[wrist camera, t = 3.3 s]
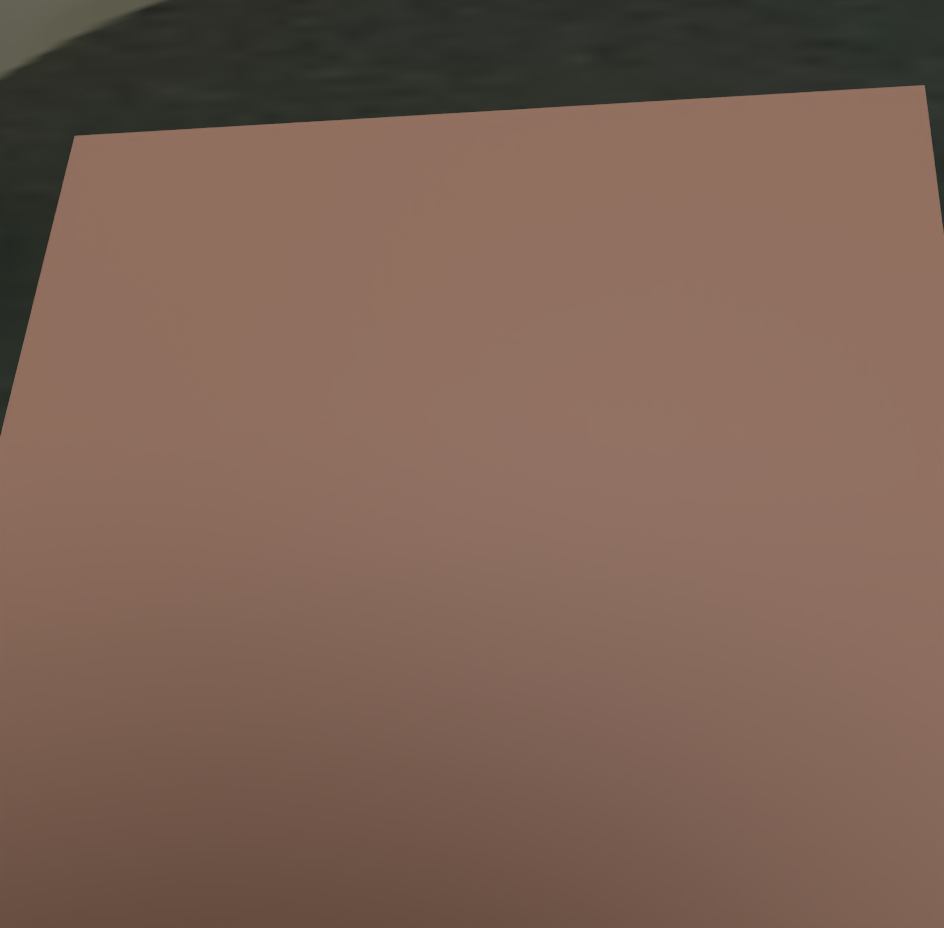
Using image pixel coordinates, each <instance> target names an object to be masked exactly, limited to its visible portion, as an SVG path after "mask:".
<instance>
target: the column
mask: <svg viewBox="0 0 944 928" xmlns="http://www.w3.org/2000/svg"><path fill="white" fill-rule="evenodd" d="M0 928H944V233H943V225H942V217H941V210H940V202H939V194H938V186H937V178H936V171H935V163H934V155H933V147H932V140H931V132H930V124H929V116H928V108H927V101H926V93H925V85H920V86H904V87H887V88H870V89H853V90H837V91H820V92H803V93H786V94H770V95H753V96H736V97H719V98H703V99H686V100H669V101H652V102H636V103H619V104H602V105H585V106H569V107H552V108H535V109H518V110H502V111H485V112H468V113H451V114H435V115H418V116H401V117H384V118H368V119H351V120H334V121H317V122H301V123H284V124H267V125H250V126H234V127H217V128H200V129H183V130H167V131H150V132H133V133H116V134H100V135H83V136H75V137H74V141H73V145H72V149H71V153H70V157H69V161H68V165H67V169H66V173H65V177H64V181H63V186H62V190H61V194H60V198H59V202H58V206H57V210H56V214H55V218H54V222H53V226H52V230H51V234H50V238H49V242H48V246H47V250H46V254H45V258H44V262H43V266H42V270H41V274H40V278H39V283H38V287H37V291H36V295H35V299H34V303H33V307H32V311H31V315H30V319H29V323H28V327H27V331H26V335H25V339H24V343H23V347H22V351H21V355H20V359H19V363H18V367H17V371H16V375H15V379H14V384H13V388H12V392H11V396H10V400H9V404H8V408H7V412H6V416H5V420H4V424H3V428H2V432H1V436H0Z"/></svg>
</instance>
